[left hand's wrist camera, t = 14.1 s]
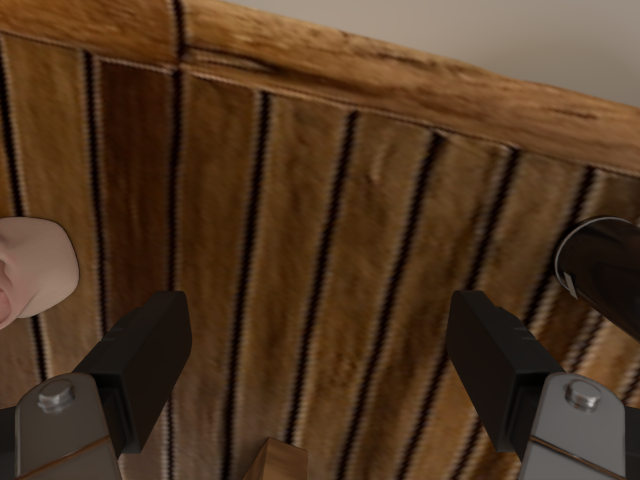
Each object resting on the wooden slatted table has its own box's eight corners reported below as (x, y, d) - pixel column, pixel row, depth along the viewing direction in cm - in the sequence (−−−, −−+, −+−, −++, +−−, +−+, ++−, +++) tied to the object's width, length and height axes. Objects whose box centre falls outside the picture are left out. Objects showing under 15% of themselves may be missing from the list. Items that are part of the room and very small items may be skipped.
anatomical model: (18, 211, 36) (83, 308, 40) (46, 201, 40) (104, 290, 44) (-93, 254, 38) (-19, 343, 42) (-56, 240, 41) (9, 323, 45)
